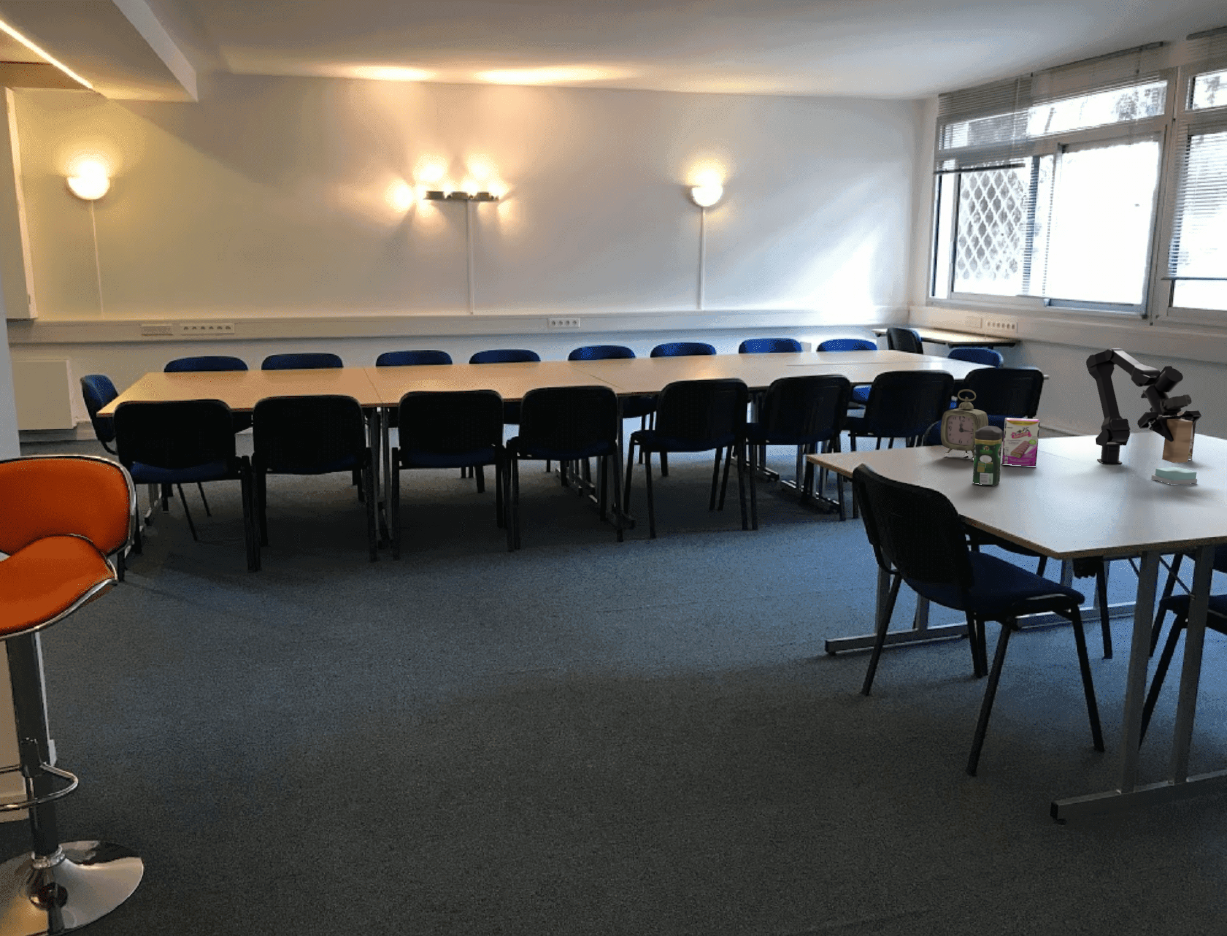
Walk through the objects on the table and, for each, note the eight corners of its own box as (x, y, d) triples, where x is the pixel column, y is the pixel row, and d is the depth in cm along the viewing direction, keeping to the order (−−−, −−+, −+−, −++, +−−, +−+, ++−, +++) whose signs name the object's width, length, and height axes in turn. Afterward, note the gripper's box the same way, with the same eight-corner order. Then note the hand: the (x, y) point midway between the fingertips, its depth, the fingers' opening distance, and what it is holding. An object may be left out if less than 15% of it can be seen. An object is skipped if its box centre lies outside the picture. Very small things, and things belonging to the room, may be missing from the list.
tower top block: (1155, 475, 314) (1155, 468, 313) (1176, 473, 315) (1177, 467, 315) (1173, 480, 306) (1174, 473, 306) (1195, 478, 308) (1196, 472, 307)
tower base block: (1151, 481, 315) (1151, 474, 315) (1176, 479, 316) (1176, 473, 316) (1170, 487, 306) (1171, 480, 306) (1196, 486, 308) (1197, 479, 307)
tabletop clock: (939, 457, 357) (942, 389, 351) (951, 453, 362) (955, 386, 357) (976, 462, 346) (980, 392, 341) (988, 458, 352) (993, 389, 347)
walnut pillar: (1162, 459, 312) (1167, 419, 309) (1176, 459, 312) (1181, 419, 310) (1172, 462, 307) (1177, 421, 304) (1187, 462, 308) (1192, 421, 305)
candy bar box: (1001, 466, 339) (1004, 419, 335) (1001, 463, 343) (1004, 417, 340) (1036, 468, 335) (1040, 420, 332) (1035, 465, 340) (1039, 418, 336)
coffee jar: (976, 479, 319) (979, 423, 315) (1001, 482, 315) (1005, 425, 311) (969, 485, 311) (972, 428, 307) (995, 488, 307) (999, 429, 303)
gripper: (1146, 386, 307) (1167, 427, 299) (1200, 384, 310) (1222, 424, 302) (1128, 408, 317) (1147, 447, 308) (1180, 405, 319) (1201, 445, 311)
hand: (1180, 440), depth 307 cm, fingers closed on walnut pillar, 5 cm apart
